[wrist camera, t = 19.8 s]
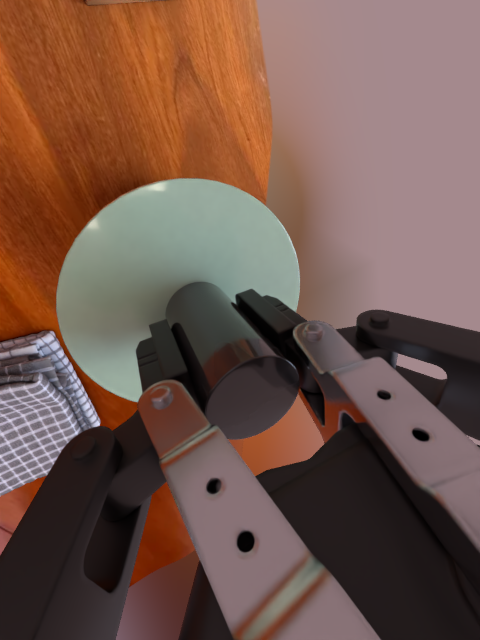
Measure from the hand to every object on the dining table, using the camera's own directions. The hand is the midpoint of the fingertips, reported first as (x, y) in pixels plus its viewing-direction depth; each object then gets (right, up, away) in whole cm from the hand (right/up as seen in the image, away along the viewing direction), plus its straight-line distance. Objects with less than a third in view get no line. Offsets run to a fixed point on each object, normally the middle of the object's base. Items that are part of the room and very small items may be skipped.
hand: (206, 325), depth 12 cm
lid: (-1, +1, +1) cm, 2 cm away
